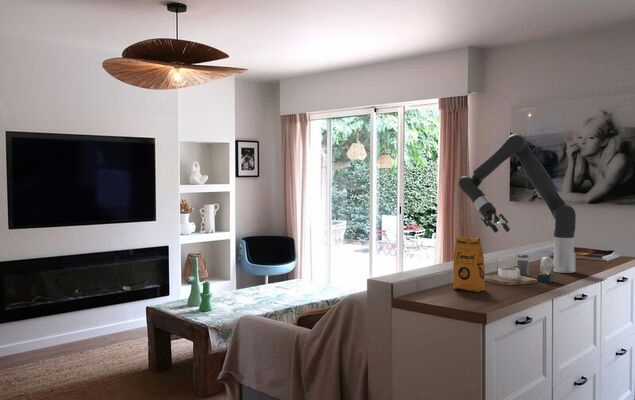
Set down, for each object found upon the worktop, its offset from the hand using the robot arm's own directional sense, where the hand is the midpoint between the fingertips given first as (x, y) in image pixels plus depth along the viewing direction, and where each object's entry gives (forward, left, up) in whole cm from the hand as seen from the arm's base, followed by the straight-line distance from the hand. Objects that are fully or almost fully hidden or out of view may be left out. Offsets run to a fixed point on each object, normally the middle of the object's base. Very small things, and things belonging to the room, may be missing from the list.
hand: (502, 231), depth 281 cm
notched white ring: (+12, +21, -19) cm, 31 cm away
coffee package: (+40, +33, -21) cm, 56 cm away
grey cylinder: (-3, +11, -20) cm, 24 cm away
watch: (-3, +27, -21) cm, 34 cm away
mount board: (+12, +21, -20) cm, 32 cm away
